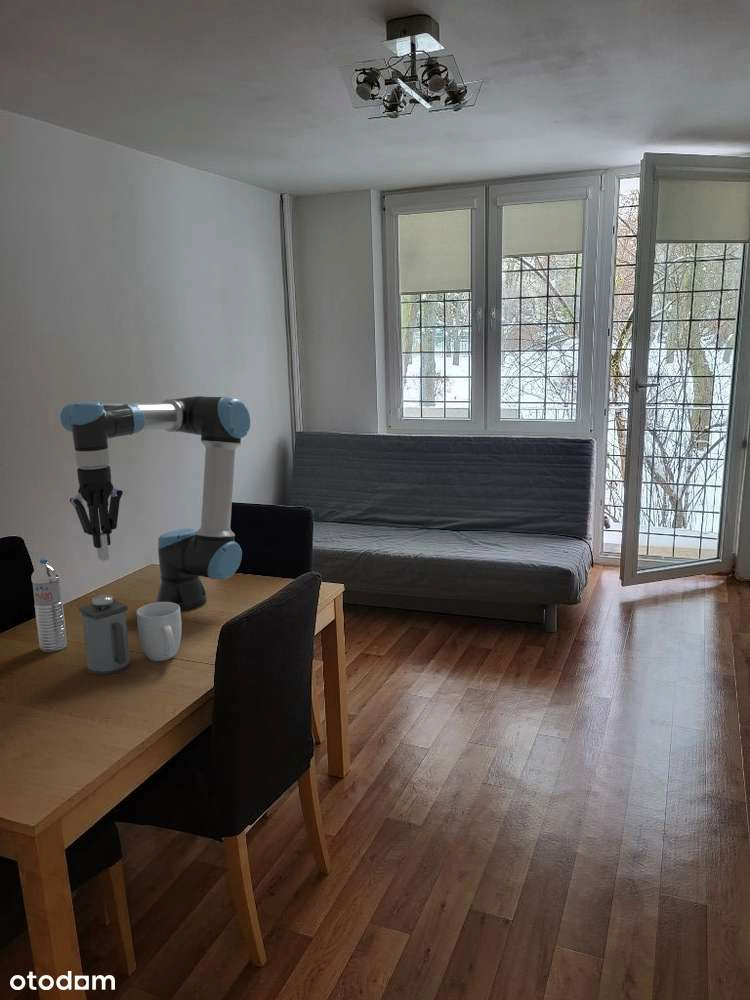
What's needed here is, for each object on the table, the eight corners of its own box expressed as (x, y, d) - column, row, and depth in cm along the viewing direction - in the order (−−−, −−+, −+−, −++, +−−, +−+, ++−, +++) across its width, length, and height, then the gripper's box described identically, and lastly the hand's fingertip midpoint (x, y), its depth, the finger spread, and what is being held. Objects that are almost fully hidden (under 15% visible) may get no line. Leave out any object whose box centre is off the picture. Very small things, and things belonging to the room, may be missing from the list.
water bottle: (72, 644, 200) (63, 557, 195) (52, 654, 194) (42, 564, 188) (54, 640, 203) (44, 554, 197) (34, 650, 197) (23, 561, 191)
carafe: (116, 654, 194) (111, 596, 190) (142, 667, 186) (136, 607, 182) (80, 667, 187) (74, 607, 183) (105, 681, 179) (99, 619, 175)
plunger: (113, 650, 191) (107, 591, 187) (125, 656, 187) (119, 597, 183) (91, 657, 186) (85, 598, 183) (103, 664, 183) (97, 604, 179)
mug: (194, 663, 188) (191, 615, 185) (152, 674, 182) (147, 625, 179) (175, 643, 200) (172, 598, 197) (134, 653, 194) (130, 607, 192)
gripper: (110, 460, 184) (119, 549, 190) (59, 468, 175) (71, 562, 181) (126, 463, 180) (135, 555, 185) (75, 472, 170) (86, 568, 176)
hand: (103, 558), depth 183 cm, fingers closed
